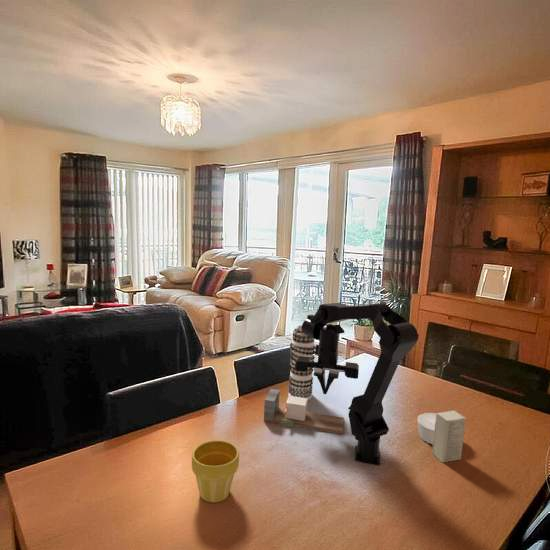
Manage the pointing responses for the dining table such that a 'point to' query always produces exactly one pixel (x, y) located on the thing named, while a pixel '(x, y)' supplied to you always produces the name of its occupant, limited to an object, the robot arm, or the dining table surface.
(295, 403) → the block
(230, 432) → the dining table surface
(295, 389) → the decorative candle
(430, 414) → the ramekin
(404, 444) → the dining table surface
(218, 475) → the plant pot
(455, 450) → the skincare box
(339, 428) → the gauge board
